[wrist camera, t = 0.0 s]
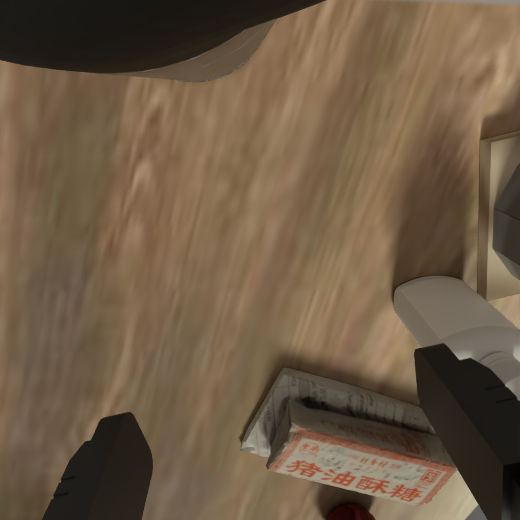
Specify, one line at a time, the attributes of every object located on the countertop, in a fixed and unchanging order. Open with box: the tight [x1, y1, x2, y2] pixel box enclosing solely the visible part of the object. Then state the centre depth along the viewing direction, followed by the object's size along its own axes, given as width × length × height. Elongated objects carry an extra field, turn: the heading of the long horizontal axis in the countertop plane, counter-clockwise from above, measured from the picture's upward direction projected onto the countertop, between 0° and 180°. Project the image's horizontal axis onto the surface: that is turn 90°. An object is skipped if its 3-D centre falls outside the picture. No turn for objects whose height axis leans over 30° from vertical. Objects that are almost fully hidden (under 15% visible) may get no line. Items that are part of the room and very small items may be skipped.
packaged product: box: [241, 367, 458, 505], centre depth 34 cm, size 18×5×10 cm
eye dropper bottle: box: [394, 276, 520, 400], centre depth 24 cm, size 4×6×12 cm
